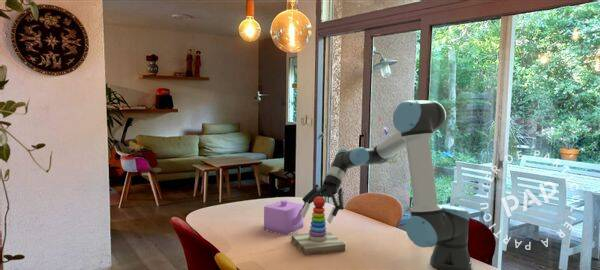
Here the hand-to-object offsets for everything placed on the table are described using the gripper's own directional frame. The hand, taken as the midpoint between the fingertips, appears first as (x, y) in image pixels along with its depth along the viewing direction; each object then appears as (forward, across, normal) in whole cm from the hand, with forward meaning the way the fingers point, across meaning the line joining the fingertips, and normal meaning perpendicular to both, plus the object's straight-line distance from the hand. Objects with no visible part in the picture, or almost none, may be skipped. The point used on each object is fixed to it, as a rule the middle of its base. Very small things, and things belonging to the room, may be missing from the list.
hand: (315, 219), depth 183 cm
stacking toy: (+5, 0, -8) cm, 10 cm away
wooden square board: (+7, 0, -10) cm, 13 cm away
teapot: (0, +25, -18) cm, 31 cm away
